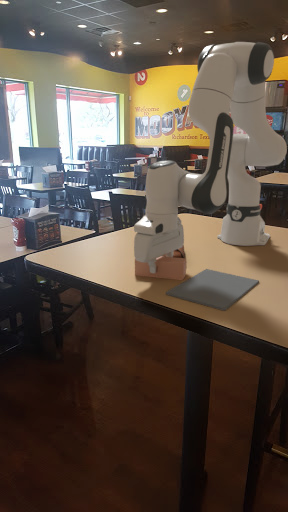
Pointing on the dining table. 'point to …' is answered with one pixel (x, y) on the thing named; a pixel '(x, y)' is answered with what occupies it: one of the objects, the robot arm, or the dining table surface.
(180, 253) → the sunglasses case
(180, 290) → the mat
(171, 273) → the pink rectangular brick
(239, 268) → the dining table surface
